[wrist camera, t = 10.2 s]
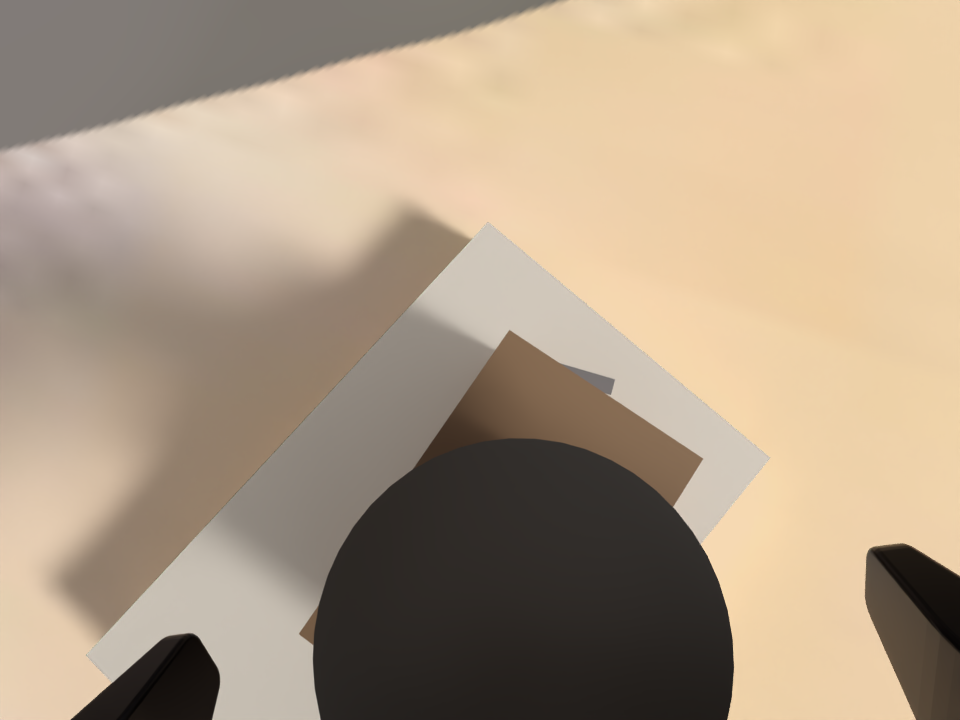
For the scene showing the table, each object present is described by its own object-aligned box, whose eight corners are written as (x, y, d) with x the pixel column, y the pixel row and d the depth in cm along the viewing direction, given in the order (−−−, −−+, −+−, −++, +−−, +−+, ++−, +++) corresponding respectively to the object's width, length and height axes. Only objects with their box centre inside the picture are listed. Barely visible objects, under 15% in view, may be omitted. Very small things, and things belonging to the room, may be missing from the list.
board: (384, 892, 16) (369, 955, 14) (133, 633, 17) (84, 655, 15) (738, 459, 17) (770, 458, 15) (488, 248, 18) (488, 221, 16)
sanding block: (497, 720, 14) (509, 1280, 4) (337, 600, 15) (30, 867, 5) (662, 460, 15) (976, 448, 5) (505, 355, 16) (531, 167, 6)
